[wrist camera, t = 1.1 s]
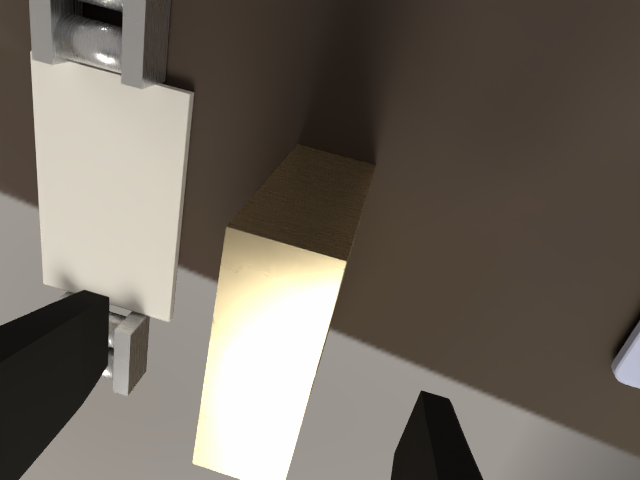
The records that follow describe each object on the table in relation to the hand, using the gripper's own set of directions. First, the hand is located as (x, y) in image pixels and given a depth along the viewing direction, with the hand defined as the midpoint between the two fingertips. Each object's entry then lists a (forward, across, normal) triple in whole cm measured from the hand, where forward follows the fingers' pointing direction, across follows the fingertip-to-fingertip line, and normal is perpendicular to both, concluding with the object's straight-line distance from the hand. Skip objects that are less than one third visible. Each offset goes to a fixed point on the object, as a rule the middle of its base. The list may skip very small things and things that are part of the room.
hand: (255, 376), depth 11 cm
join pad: (+6, +7, 0) cm, 9 cm away
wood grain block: (+6, 0, 0) cm, 6 cm away
